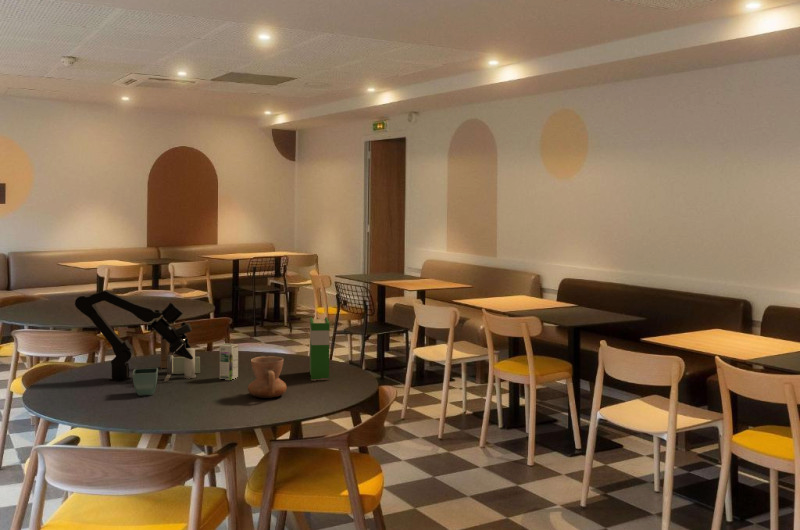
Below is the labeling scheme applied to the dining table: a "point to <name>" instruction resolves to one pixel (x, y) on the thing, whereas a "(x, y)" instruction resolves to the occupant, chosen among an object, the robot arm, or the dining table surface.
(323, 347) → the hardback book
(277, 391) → the ceramic jug
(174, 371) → the beige flat block
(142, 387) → the flower pot
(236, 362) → the syrup box
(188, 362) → the beige dome-topped cylinder
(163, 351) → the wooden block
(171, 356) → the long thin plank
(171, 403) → the dining table surface
